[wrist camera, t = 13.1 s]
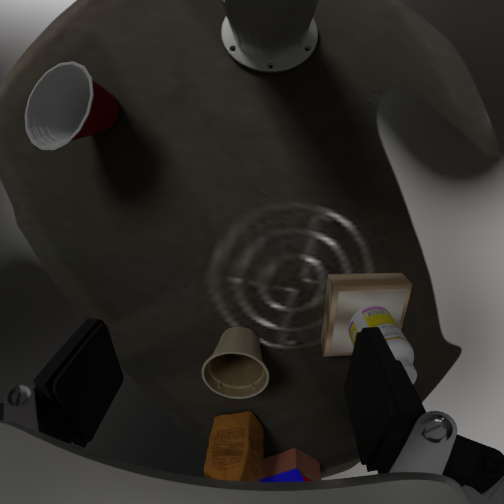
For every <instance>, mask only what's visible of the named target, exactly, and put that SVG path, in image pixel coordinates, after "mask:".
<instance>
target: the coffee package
mask: <svg viewBox="0 0 504 504" xmlns="http://www.w3.org/2000/svg"><path fill="white" fill-rule="evenodd" d="M263 447H264V431H263V428H262V425H261V423H260V421H259V420H258V419H257V418H256V417H255V415H254V414H253V413H252V412H251V411H244V412H239V413H234V414H224V415H220V416H216V417H215V418H214V423H213V427H212V431H211V434H210V437H209V447H208V450H207V457H206V462H205V467H204V473H205V476H206V478H210V479H219V480H231V481H246V482H259V480H260V476H261V472H262V466H263Z"/></svg>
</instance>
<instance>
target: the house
mask: <svg viewBox="0 0 504 504" xmlns="http://www.w3.org/2000/svg"><path fill="white" fill-rule="evenodd" d="M320 480H321V472H320V463H319V461H317V460H315V459H314V458H312V457H310V456H308V455H307V454H305V453H303V452H302V451H300V450H299V449H297V448H293V449H290V450H287V451H285V452H282V453H279V454H276V455H273V456H271V457H268V458H265V459H263V466H262V472H261V476H260V480H259V482H302V481H320Z"/></svg>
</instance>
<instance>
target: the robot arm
mask: <svg viewBox="0 0 504 504" xmlns="http://www.w3.org/2000/svg"><path fill="white" fill-rule="evenodd" d="M318 1H319V0H221V2H222V5H223V8H224V11H225V14H226V17H225V18H224V21H223V24H222V28H221V37H222V41H223V44H224V47H225V49H226V51H227V52H228V54H229V55H230V56H231V57H232V58H233V59H234V60H235V61H236V62H238V63H239V64H241V65H242V66H244V67H246V68H248V69H251V70H254V71H259V72H264V73H276V72H284V71H287V70H291V69H293V68H295V67H297V66H299V65H301V64H302V63H303V62H305V61H306V60H307V59H308V58H309V57H310V56H311V54H312V52H313V51H314V49H315V46H316V44H317V39H318V29H317V25H316V22H315V20H314V19H313V15H314V12H315V9H316V7H317V4H318ZM232 49H235V51H232ZM305 49H308V50H309V51H306V50H305ZM269 66H272V67H273V68H272V69H270V68H269ZM34 383H35V385H36V387H35V388H33V387H32V386H31V385H30V384H28V383H18V384H15V385H13V386H12V387H10V388H9V389H8V391H7V392H6V394H5V397H4V403H1V404H0V504H504V455H503V454H502V453H501V452H500V451H498V450H496V449H494V448H491V447H489V446H486V445H483V444H480V443H478V442H475V441H472V440H470V439H467V438H465V437H462V436H460V435H457V426H456V423H455V421H454V420H453V419H452V418H451V417H450V416H449V415H447V414H445V413H443V412H439V411H430V412H427V413H426V411H425V409H424V407H423V405H422V402H421V400H420V398H419V396H418V394H417V392H416V390H415V388H414V386H413V384H412V382H411V380H410V378H409V376H408V374H407V372H406V370H405V368H404V366H403V364H402V363H401V361H399V360H396V359H395V357H394V355H393V353H392V351H391V349H390V347H389V345H388V343H387V341H386V340H385V338H384V336H383V334H382V332H381V330H380V328H379V327H366V328H362V330H361V332H357V334H356V339H355V343H354V348H353V353H352V357H351V362H350V366H349V370H348V374H347V378H346V382H345V396H346V400H347V404H348V408H349V412H350V417H351V421H352V425H353V429H354V434H355V438H356V442H357V447H358V451H359V456H360V461H361V464H362V465H366V466H367V471H368V472H370V471H375V470H377V471H378V474H376V475H368V476H359V477H351V478H343V479H333V480H320V481H302V482H246V481H231V480H219V479H210V478H201V477H194V476H187V475H181V474H175V473H170V472H164V471H159V470H155V469H150V468H146V467H141V466H137V465H133V464H130V463H126V462H122V461H119V460H115V459H112V458H108V457H105V456H102V455H99V454H95V453H93V452H90V451H87V450H84V449H82V448H79V447H76V446H74V445H71V442H73V443H74V444H76V445H79V446H81V447H84V448H85V447H86V445H87V442H90V441H91V440H92V439H93V437H94V434H95V433H96V431H97V429H98V427H99V425H100V423H101V421H102V419H103V418H104V416H105V414H106V412H107V410H108V408H109V406H110V405H111V403H112V401H113V399H114V397H115V395H116V393H117V392H118V390H119V388H120V386H121V385H122V383H123V373H122V370H121V367H120V364H119V362H118V359H117V356H116V353H115V350H114V347H113V344H112V341H111V337H110V334H109V331H108V327H107V325H106V324H104V322H103V321H102V320H99V319H91V318H89V319H87V320H86V321H85V322H84V323H83V324H82V325H81V326H80V328H79V329H78V330H77V331H76V332H75V333H74V334H73V335H72V336H71V337H70V339H69V340H68V341H67V342H66V343H65V344H64V345H63V346H62V347H61V349H60V350H59V351H58V352H57V353H56V354H55V356H54V357H53V358H52V359H51V360H50V361H49V362H48V364H47V365H46V366H45V367H44V368H43V370H42V371H41V372H40V373H39V374H38V376H37V377H36V378H35V379H34Z"/></svg>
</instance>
